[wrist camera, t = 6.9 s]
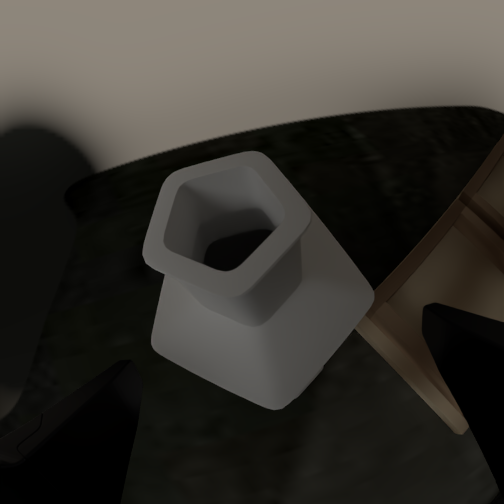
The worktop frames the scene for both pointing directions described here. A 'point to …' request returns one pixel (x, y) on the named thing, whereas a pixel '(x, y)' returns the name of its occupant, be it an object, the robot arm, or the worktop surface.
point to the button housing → (498, 500)
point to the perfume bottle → (249, 280)
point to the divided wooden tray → (444, 285)
